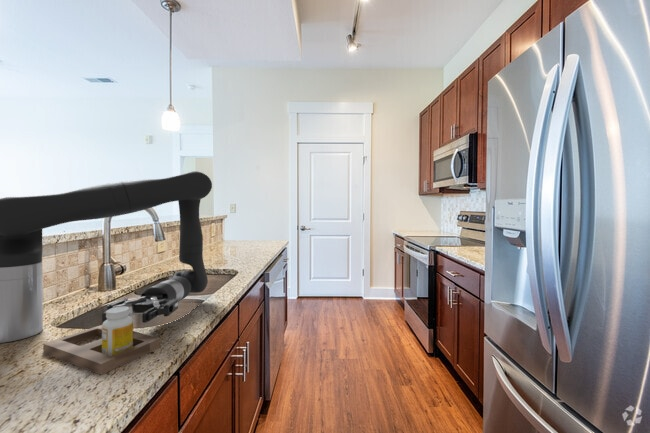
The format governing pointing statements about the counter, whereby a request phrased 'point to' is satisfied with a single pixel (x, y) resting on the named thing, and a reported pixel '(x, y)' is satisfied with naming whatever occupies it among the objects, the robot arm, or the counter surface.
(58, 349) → the brown flat two-opening frame
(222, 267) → the counter surface
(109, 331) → the supplement bottle
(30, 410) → the counter surface
